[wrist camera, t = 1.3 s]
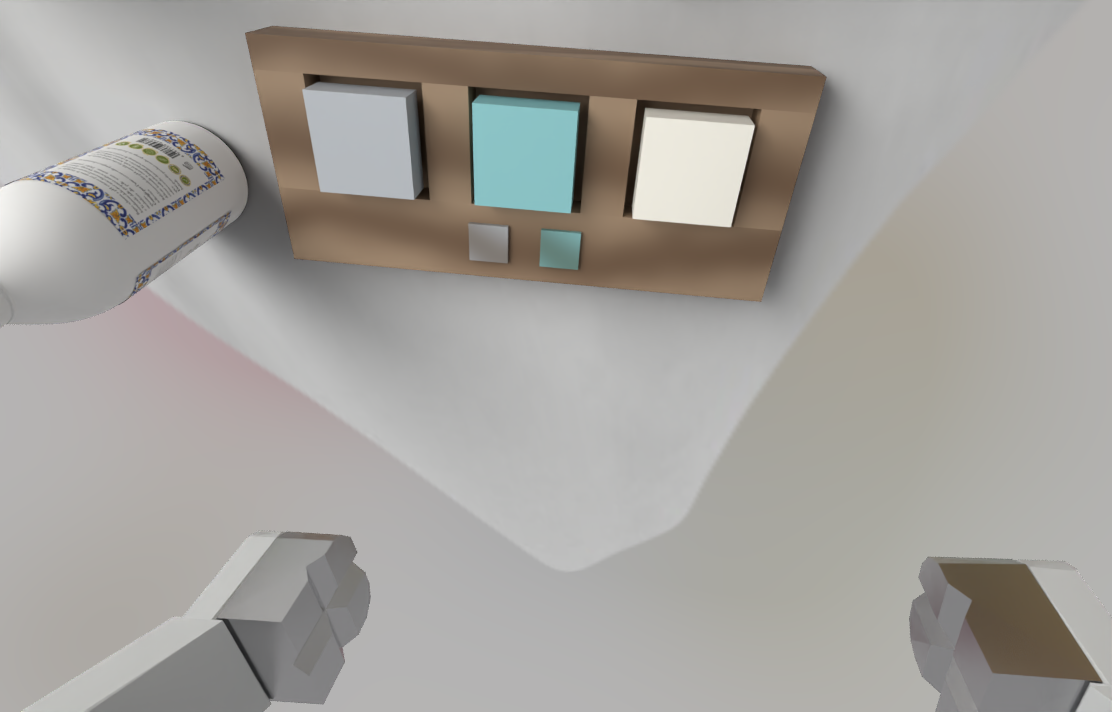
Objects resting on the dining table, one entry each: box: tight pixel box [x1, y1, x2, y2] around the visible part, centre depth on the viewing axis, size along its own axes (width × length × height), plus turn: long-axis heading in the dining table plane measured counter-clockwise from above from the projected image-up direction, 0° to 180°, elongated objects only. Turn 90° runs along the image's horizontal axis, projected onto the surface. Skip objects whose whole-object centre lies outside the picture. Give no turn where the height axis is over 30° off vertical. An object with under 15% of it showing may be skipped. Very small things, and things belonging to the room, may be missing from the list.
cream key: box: [632, 108, 755, 227], centre depth 33 cm, size 6×6×2 cm
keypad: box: [245, 26, 826, 302], centre depth 35 cm, size 13×30×3 cm, turn 87°
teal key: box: [472, 95, 580, 213], centre depth 33 cm, size 6×6×2 cm
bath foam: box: [0, 121, 248, 328], centre depth 31 cm, size 7×7×20 cm
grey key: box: [302, 82, 424, 200], centre depth 34 cm, size 6×6×2 cm
